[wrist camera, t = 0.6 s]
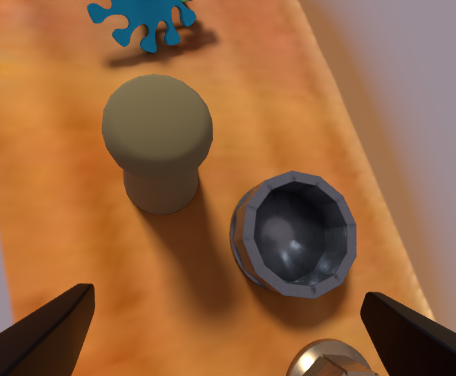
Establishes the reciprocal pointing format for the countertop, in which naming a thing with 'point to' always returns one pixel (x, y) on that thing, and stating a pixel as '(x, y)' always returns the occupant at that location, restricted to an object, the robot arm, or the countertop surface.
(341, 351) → the small collar
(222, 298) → the countertop surface
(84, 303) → the robot arm
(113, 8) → the gear
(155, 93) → the cork
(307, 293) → the fitting collar
